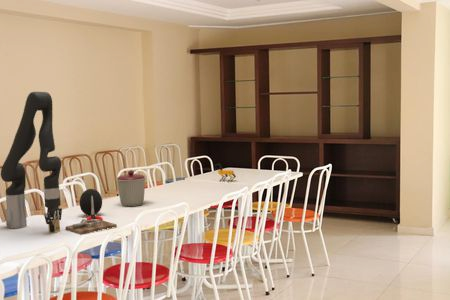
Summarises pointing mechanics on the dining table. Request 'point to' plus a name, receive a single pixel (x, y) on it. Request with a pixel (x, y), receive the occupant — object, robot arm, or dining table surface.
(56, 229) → the coupler
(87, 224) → the shaft rig
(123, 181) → the canister
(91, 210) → the grey red upright piece
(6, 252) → the dining table surface
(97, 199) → the decorative egg
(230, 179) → the robot dog
